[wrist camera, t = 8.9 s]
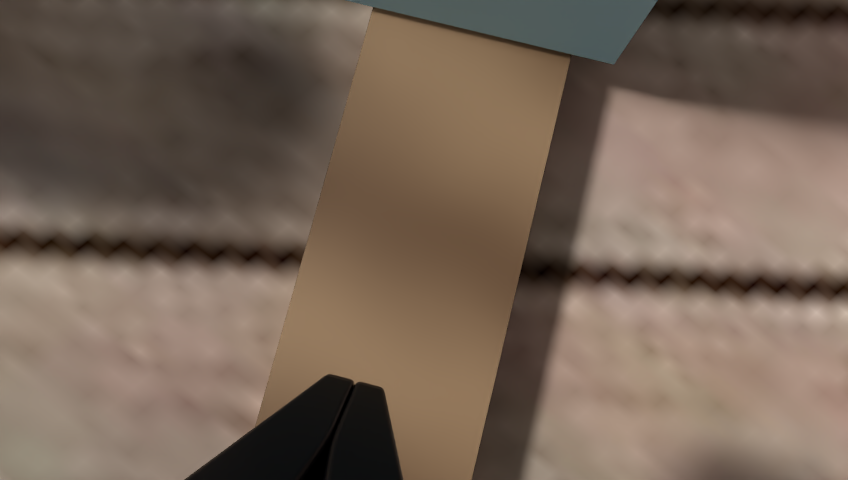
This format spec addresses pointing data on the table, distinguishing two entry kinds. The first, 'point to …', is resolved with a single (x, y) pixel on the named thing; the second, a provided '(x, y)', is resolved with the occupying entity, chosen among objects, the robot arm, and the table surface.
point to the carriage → (538, 21)
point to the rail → (423, 232)
